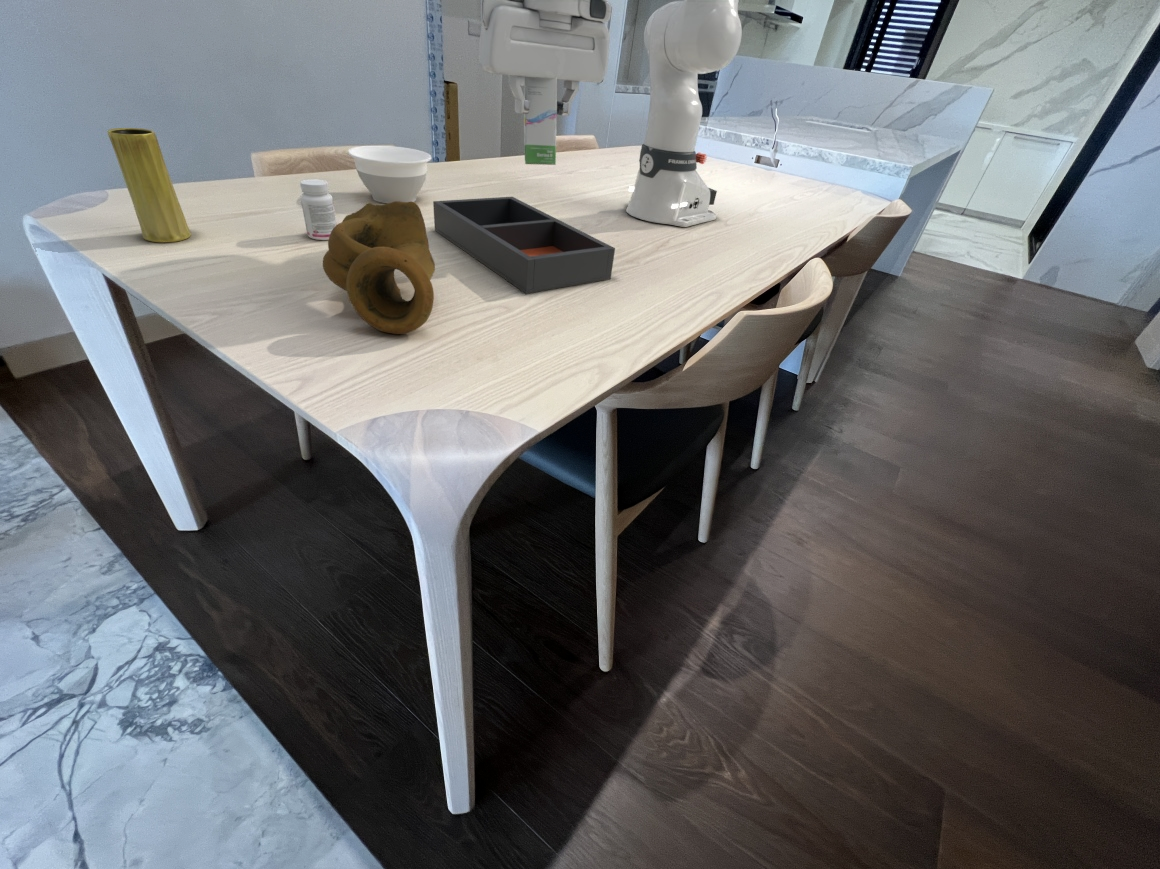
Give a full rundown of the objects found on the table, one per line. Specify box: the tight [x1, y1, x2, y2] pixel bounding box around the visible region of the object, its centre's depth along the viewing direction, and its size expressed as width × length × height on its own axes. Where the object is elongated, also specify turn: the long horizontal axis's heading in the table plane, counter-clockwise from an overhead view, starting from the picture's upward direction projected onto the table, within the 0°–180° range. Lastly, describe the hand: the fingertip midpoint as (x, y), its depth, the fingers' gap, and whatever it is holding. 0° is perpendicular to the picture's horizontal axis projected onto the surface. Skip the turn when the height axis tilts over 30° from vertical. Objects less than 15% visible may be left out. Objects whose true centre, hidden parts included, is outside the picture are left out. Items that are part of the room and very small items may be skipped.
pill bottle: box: [299, 178, 338, 241], centre depth 86 cm, size 5×5×8 cm
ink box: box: [523, 77, 558, 166], centre depth 83 cm, size 9×5×12 cm, turn 4°
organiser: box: [432, 196, 616, 295], centre depth 91 cm, size 16×32×5 cm, turn 37°
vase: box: [106, 127, 192, 243], centre depth 77 cm, size 6×6×14 cm
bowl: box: [347, 145, 432, 204], centre depth 109 cm, size 16×16×8 cm
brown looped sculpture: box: [322, 201, 436, 335], centre depth 69 cm, size 18×13×22 cm
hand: (543, 114), depth 80 cm, fingers closed on ink box, 6 cm apart
